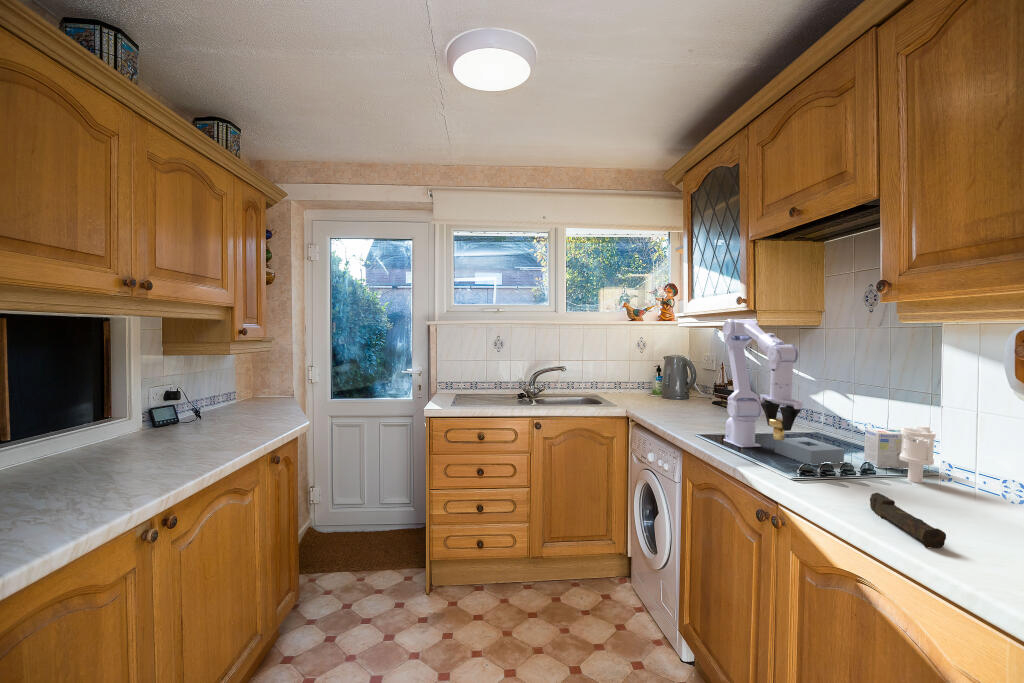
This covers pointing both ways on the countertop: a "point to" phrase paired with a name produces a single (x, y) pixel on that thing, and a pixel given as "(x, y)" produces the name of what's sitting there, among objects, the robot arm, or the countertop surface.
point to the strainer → (917, 450)
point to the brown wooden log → (907, 521)
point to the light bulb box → (884, 448)
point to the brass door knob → (777, 428)
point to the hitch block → (809, 450)
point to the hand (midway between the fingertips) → (779, 428)
